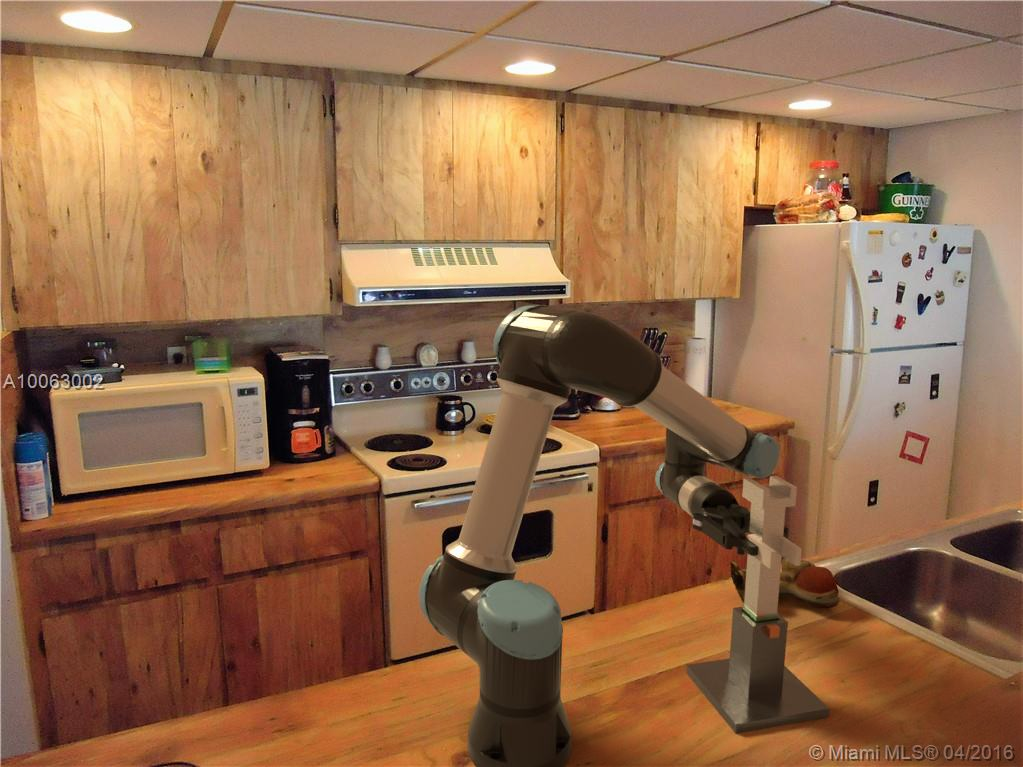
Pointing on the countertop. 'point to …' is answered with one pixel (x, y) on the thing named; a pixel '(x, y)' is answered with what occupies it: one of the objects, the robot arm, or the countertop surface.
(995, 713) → the countertop surface
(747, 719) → the stand
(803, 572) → the beige sneaker
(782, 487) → the column
